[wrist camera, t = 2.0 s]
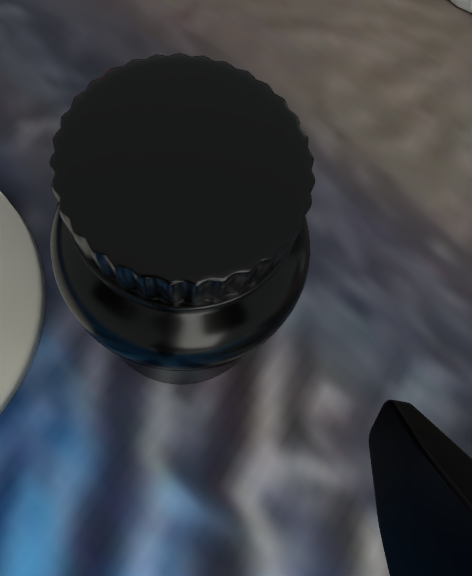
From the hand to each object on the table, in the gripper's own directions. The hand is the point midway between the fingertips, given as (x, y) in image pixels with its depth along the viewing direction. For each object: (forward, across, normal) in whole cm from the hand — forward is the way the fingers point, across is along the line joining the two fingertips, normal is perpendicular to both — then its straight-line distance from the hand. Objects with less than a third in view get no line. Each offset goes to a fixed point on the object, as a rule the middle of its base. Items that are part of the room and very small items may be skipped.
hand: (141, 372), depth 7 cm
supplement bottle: (+10, 0, +5) cm, 12 cm away
